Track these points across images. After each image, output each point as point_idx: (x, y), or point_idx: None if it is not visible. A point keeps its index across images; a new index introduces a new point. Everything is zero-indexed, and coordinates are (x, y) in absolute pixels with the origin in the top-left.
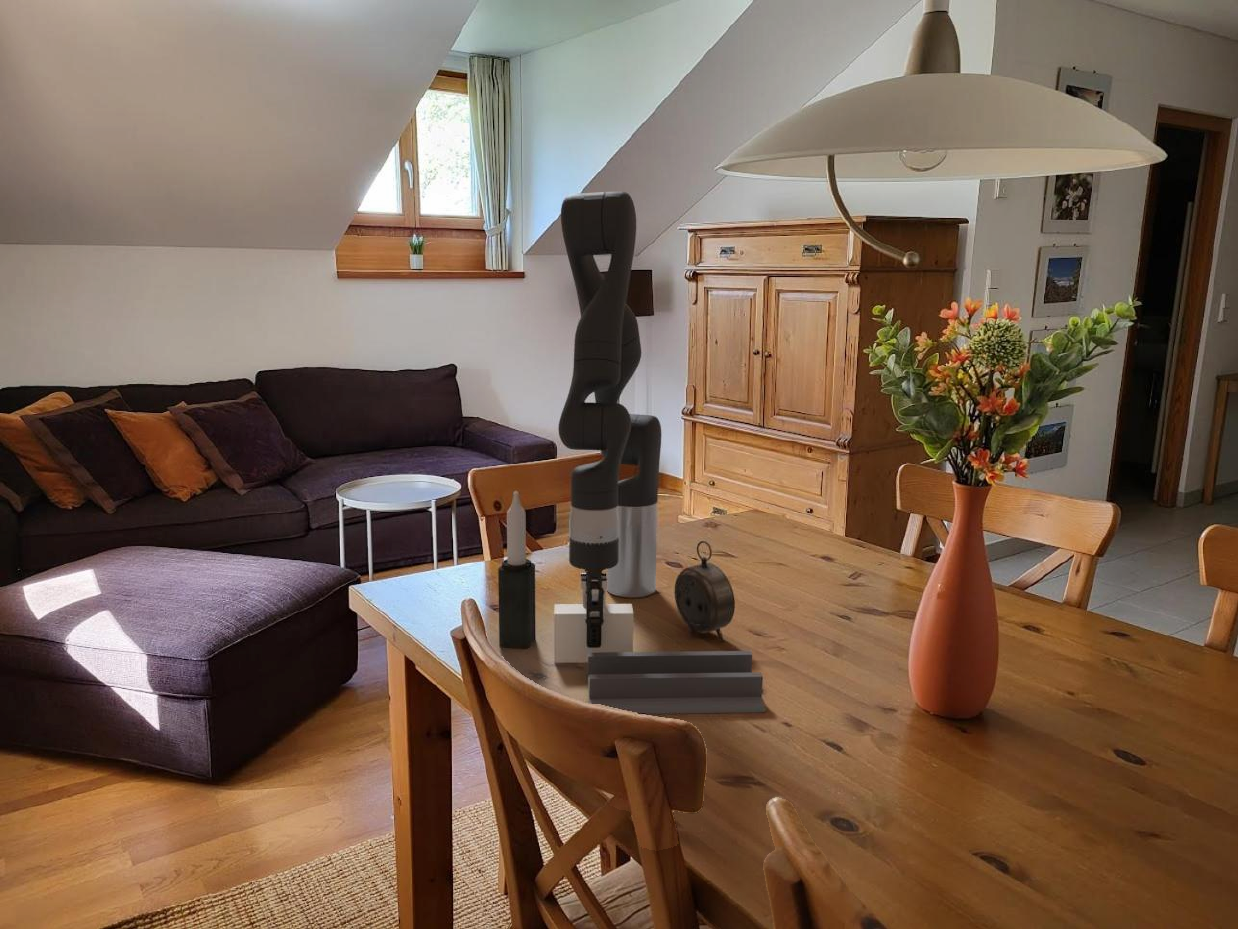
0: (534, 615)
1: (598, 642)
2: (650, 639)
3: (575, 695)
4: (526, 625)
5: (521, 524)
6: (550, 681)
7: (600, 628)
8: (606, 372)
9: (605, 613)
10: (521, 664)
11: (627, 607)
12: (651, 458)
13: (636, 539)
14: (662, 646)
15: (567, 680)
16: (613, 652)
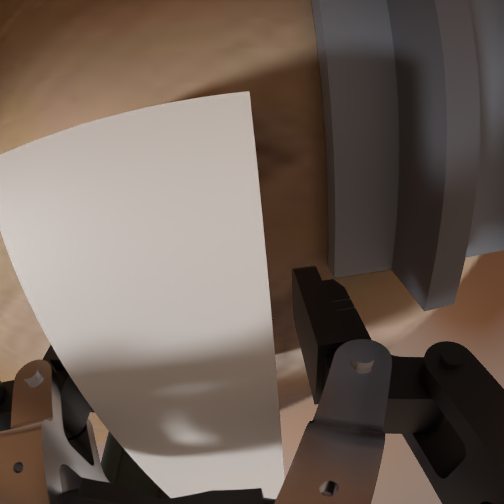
0: (120, 458)
1: (343, 289)
2: (25, 71)
3: (463, 276)
4: None
5: None
6: (384, 343)
7: (339, 327)
8: None
9: (274, 370)
10: (280, 408)
11: (70, 187)
12: None
13: None
14: (79, 11)
15: (386, 309)
16: (444, 210)
